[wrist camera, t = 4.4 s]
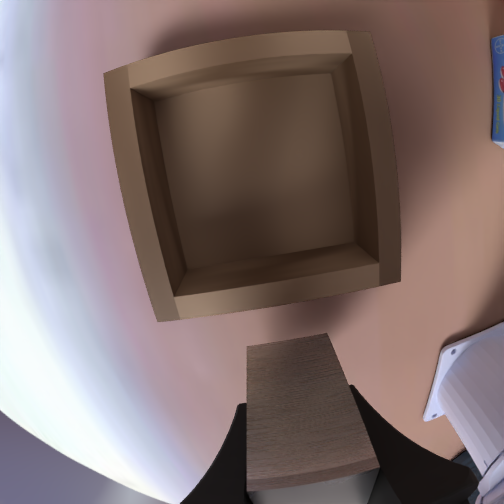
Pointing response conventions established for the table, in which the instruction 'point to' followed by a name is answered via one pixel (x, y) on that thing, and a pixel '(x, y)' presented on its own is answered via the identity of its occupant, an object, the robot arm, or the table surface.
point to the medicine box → (498, 89)
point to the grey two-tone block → (304, 427)
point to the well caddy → (257, 171)
